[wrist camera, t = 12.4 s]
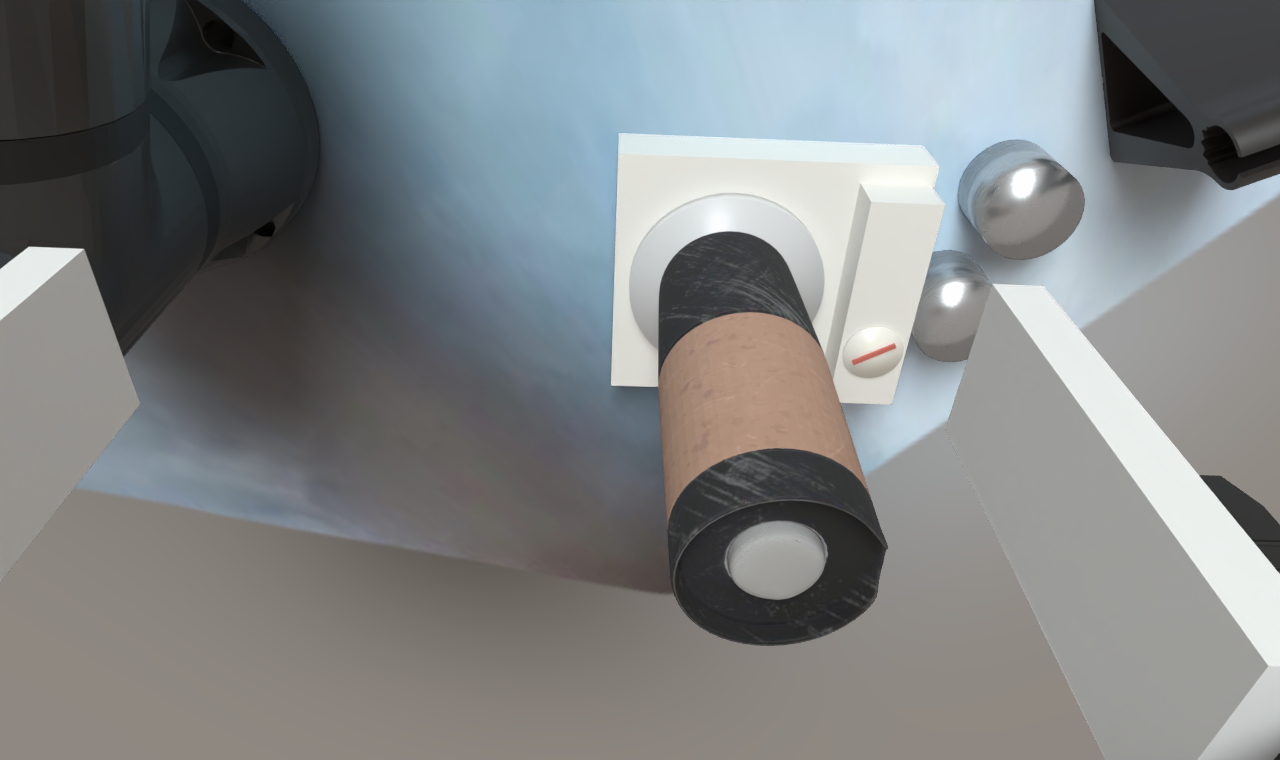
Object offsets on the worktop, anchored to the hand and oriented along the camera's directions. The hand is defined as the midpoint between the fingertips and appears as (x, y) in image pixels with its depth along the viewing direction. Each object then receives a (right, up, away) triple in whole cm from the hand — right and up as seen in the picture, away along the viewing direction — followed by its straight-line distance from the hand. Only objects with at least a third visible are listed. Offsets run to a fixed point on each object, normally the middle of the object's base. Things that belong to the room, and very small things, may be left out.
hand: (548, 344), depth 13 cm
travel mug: (+6, +4, +33) cm, 33 cm away
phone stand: (+28, +16, +30) cm, 43 cm away
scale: (+8, +6, +36) cm, 37 cm away
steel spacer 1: (+19, +5, +37) cm, 42 cm away
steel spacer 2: (+21, +10, +33) cm, 41 cm away
